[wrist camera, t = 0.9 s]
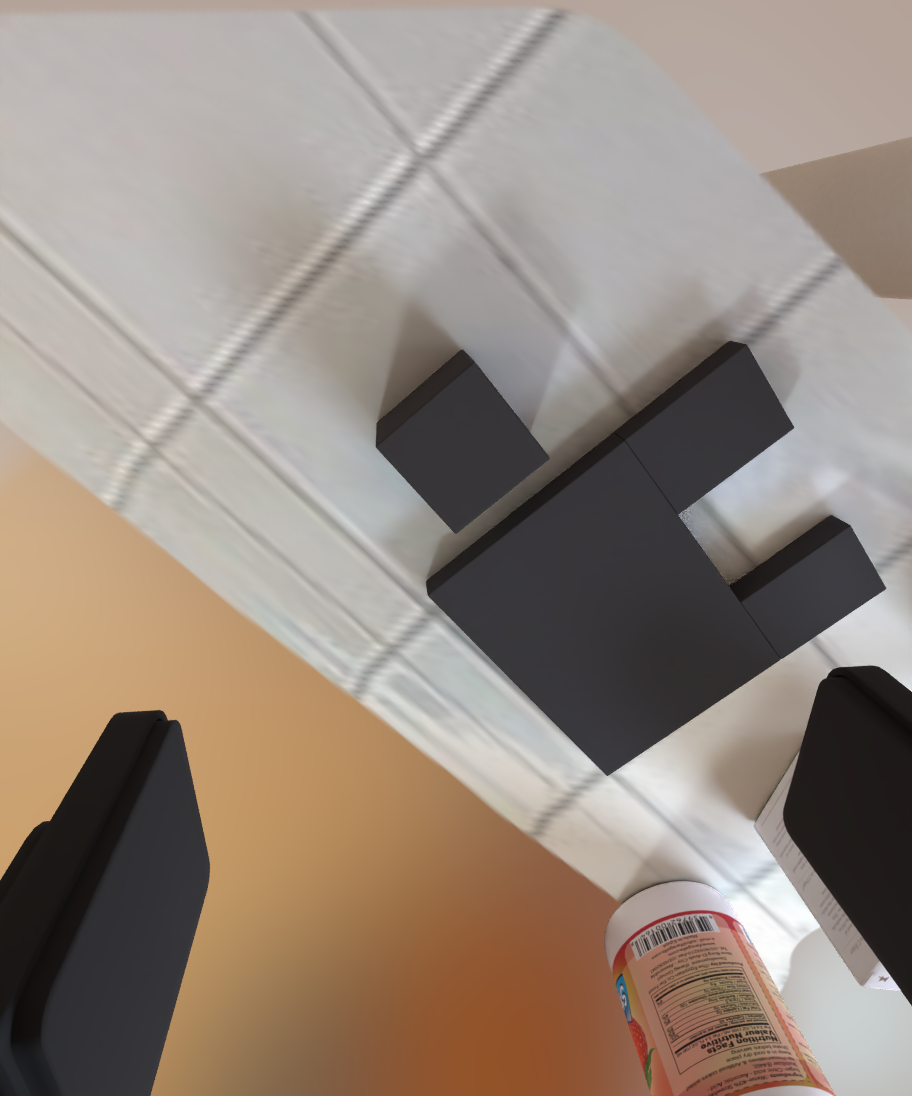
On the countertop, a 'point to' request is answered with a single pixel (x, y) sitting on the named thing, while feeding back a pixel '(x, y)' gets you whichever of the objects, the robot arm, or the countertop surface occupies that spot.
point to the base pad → (649, 573)
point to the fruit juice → (704, 999)
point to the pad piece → (458, 442)
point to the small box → (818, 893)
